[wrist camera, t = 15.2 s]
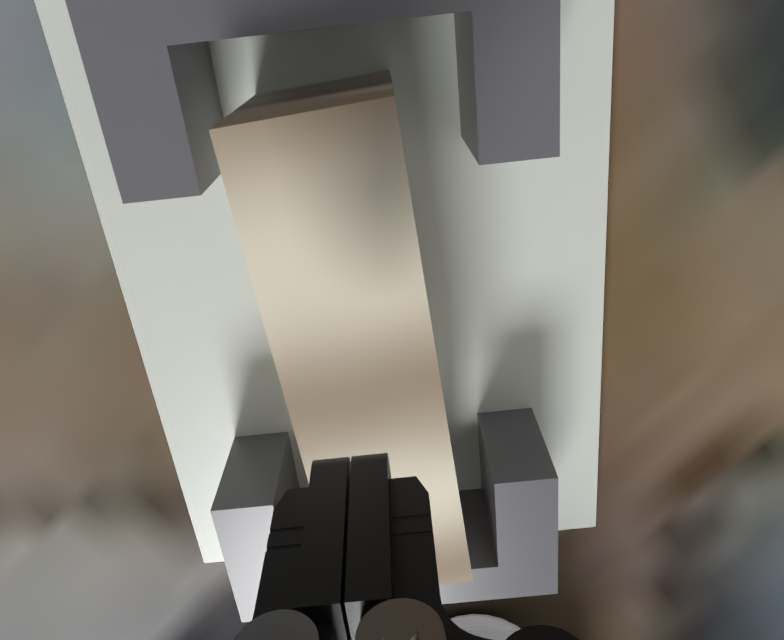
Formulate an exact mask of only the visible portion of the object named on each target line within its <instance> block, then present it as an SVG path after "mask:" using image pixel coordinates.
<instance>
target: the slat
mask: <svg viewBox="0 0 784 640" xmlns="http://www.w3.org/2000/svg"><path fill="white" fill-rule="evenodd" d="M209 133H210V137H211V140H212V144H213V147H214V151H215V154H216V158H217V161H218V165H219V168H220V172H221V176H222V179H223V183H224V186H225V190H226V193H227V197H228V200H229V204H230V207H231V211H232V214H233V218H234V221H235V225H236V229H237V232H238V236H239V239H240V243H241V246H242V250H243V253H244V257H245V260H246V264H247V267H248V271H249V274H250V278H251V281H252V285H253V289H254V292H255V296H256V299H257V303H258V306H259V310H260V313H261V317H262V320H263V324H264V327H265V331H266V334H267V338H268V342H269V345H270V349H271V352H272V356H273V359H274V363H275V366H276V370H277V373H278V377H279V380H280V384H281V387H282V391H283V395H284V398H285V402H286V405H287V409H288V412H289V416H290V419H291V423H292V426H293V430H294V433H295V437H296V440H297V444H298V447H299V451H300V455H301V458H302V462H303V465H304V469H305V472H306V476H307V479H308V483H309V480H310V472H311V465H312V461H313V460H322V459H332V458H342V457H349V458H350V461H351V457H352V456H360V455H370V454H380V453H388V457H389V464H390V471H391V479H392V478H402V477H412V476H416V477H417V478H418V479H419V481H420V482H421V483H422V485H423V486H424V487H425V489H426V490H427V491H428V493H429V500H430V509H431V518H432V527H433V535H434V544H435V553H436V562H437V571H438V580H439V585H446V584H453V583H460V582H467V581H473V577H472V571H471V564H470V558H469V552H468V546H467V540H466V534H465V527H464V521H463V515H462V509H461V503H460V497H459V490H458V484H457V478H456V472H455V466H454V460H453V453H452V447H451V441H450V435H449V429H448V423H447V416H446V410H445V404H444V398H443V392H442V386H441V379H440V373H439V367H438V361H437V355H436V348H435V342H434V336H433V330H432V324H431V318H430V311H429V305H428V299H427V293H426V287H425V281H424V274H423V268H422V262H421V256H420V250H419V244H418V237H417V231H416V225H415V219H414V213H413V207H412V200H411V194H410V188H409V182H408V176H407V170H406V163H405V157H404V151H403V145H402V139H401V133H400V126H399V120H398V114H397V108H396V102H395V96H394V90H393V85H392V79H391V74H390V70H386V71H381V72H375V73H370V74H365V75H359V76H354V77H348V78H343V79H337V80H332V81H327V82H321V83H316V84H310V85H305V86H299V87H294V88H289V89H283V90H278V91H272V92H267V93H261V94H256V95H254V96H253V97H252V98H250V99H249V100H248V101H246V102H245V103H244V104H242V105H241V106H240V107H238V108H237V109H236V110H234V111H233V112H232V113H230V114H229V115H228V116H226V117H225V118H224V119H222V120H221V121H220V122H218V123H217V124H216V125H214V126H213V127H212V128H210V129H209Z"/></svg>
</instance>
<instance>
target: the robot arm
mask: <svg viewBox="0 0 784 640" xmlns="http://www.w3.org/2000/svg"><path fill="white" fill-rule="evenodd" d="M266 548H267V551H266V552H265V557H264V562H263V568H262V573H261V578H260V583H259V588H258V594H257V599H256V604H255V609H254V614H253V618H252V621H250V622H249V623H247V624H246V625H245V626H244V627H243V628H242V629H241V631H240V632H239V633H238V634H237V636H236V638H235V639H234V640H492V639H487V638H482V637H479V636H475V635H473V634H470V633H468V632H466V631H464V630H463V629H461V628H460V627H458V626H457V625H456V624H455V623H454V622H453V621H452V620H451V619H450V618H449V617H448V615H447V614H446V612H445V611H444V608H443V606H442V602H441V598H440V589H439V580H438V571H437V562H436V553H435V544H434V535H433V527H432V518H431V509H430V500H429V493H428V491H427V490H426V489H425V487H424V486H423V485H422V483H421V482H420V481H419V479H418V478H417V477H416V476H412V477H402V478H392V479H391V471H390V464H389V457H388V453H380V454H370V455H360V456H352V457H351V461H350V458H349V457H342V458H332V459H322V460H313V461H312V465H311V472H310V480H309V487H304V488H294V489H288V490H287V491H286V492H285V494H284V495H283V497H282V498H281V499H280V501H279V502H278V503H277V505H276V506H275V508H274V510H273V515H272V521H271V526H270V534H269V536H268V541H267V547H266ZM506 640H579V639H577V638H576V637H574V636H573V635H571V634H570V633H568V632H566V631H564V630H562V629H559V628H556V627H552V626H545V625H535V626H528V627H525V628H522V629H520V630H518V631H516V632H514V633H513V634H511V635H510V636H509V637H508V638H507V639H506Z"/></svg>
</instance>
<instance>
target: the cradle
mask: <svg viewBox="0 0 784 640" xmlns="http://www.w3.org/2000/svg"><path fill="white" fill-rule="evenodd" d="M34 1H35V4H36V8H37V11H38V14H39V18H40V21H41V24H42V28H43V31H44V34H45V37H46V41H47V44H48V47H49V51H50V54H51V57H52V61H53V64H54V67H55V71H56V74H57V77H58V81H59V84H60V87H61V90H62V94H63V97H64V100H65V104H66V107H67V110H68V114H69V117H70V120H71V124H72V127H73V130H74V133H75V137H76V140H77V143H78V147H79V150H80V153H81V157H82V160H83V163H84V167H85V170H86V173H87V176H88V180H89V183H90V186H91V190H92V193H93V196H94V200H95V203H96V206H97V210H98V213H99V216H100V219H101V223H102V226H103V229H104V233H105V236H106V239H107V243H108V246H109V249H110V253H111V256H112V259H113V262H114V266H115V269H116V272H117V276H118V279H119V282H120V286H121V289H122V292H123V296H124V299H125V302H126V306H127V309H128V312H129V315H130V319H131V322H132V325H133V329H134V332H135V335H136V339H137V342H138V345H139V349H140V352H141V355H142V358H143V362H144V365H145V368H146V372H147V375H148V378H149V382H150V385H151V388H152V392H153V395H154V398H155V401H156V405H157V408H158V411H159V415H160V418H161V421H162V425H163V428H164V431H165V435H166V438H167V441H168V444H169V448H170V451H171V454H172V458H173V461H174V464H175V468H176V471H177V474H178V478H179V481H180V484H181V488H182V491H183V494H184V497H185V501H186V504H187V507H188V511H189V514H190V517H191V521H192V524H193V527H194V531H195V534H196V537H197V540H198V544H199V547H200V550H201V554H202V557H203V560H204V563H211V562H222V561H225V565H226V568H227V572H228V575H229V579H230V582H231V586H232V590H233V593H234V597H235V600H236V604H237V607H238V611H239V614H240V618H241V621H242V622H250V621H252V618H253V614H254V609H255V604H256V599H257V594H258V588H259V583H260V578H261V573H262V568H263V562H264V557H265V552H266V551H267V548H266V547H267V541H268V536H269V534H270V526H271V521H272V515H273V510H274V508H275V506H276V505H277V503H278V502H279V501H280V499H281V498H282V497H283V495H284V494H285V492H286V491H287V490H288V489H294V488H304V487H309V483H308V479H307V476H306V472H305V469H304V465H303V462H302V458H301V455H300V451H299V447H298V444H297V440H296V437H295V433H294V430H293V426H292V423H291V419H290V416H289V412H288V409H287V405H286V402H285V398H284V395H283V391H282V387H281V384H280V380H279V377H278V373H277V370H276V366H275V363H274V359H273V356H272V352H271V349H270V345H269V342H268V338H267V334H266V331H265V327H264V324H263V320H262V317H261V313H260V310H259V306H258V303H257V299H256V296H255V292H254V289H253V285H252V281H251V278H250V274H249V271H248V267H247V264H246V260H245V257H244V253H243V250H242V246H241V243H240V239H239V236H238V232H237V229H236V225H235V221H234V218H233V214H232V211H231V207H230V204H229V200H228V197H227V193H226V190H225V186H224V183H223V179H222V176H221V172H220V168H219V165H218V161H217V158H216V154H215V151H214V147H213V144H212V140H211V137H210V133H209V129H210V128H212V127H213V126H214V125H216V124H217V123H218V122H220V121H221V120H222V119H224V118H225V117H226V116H228V115H229V114H230V113H232V112H233V111H234V110H236V109H237V108H238V107H240V106H241V105H242V104H244V103H245V102H246V101H248V100H249V99H250V98H252V97H253V96H254V95H256V94H261V93H267V92H272V91H278V90H283V89H289V88H294V87H299V86H305V85H310V84H316V83H321V82H327V81H332V80H337V79H343V78H348V77H354V76H359V75H365V74H370V73H375V72H381V71H386V70H390V74H391V79H392V85H393V90H394V96H395V102H396V108H397V114H398V120H399V126H400V133H401V139H402V145H403V151H404V157H405V163H406V170H407V176H408V182H409V188H410V194H411V200H412V207H413V213H414V219H415V225H416V231H417V237H418V244H419V250H420V256H421V262H422V268H423V274H424V281H425V287H426V293H427V299H428V305H429V311H430V318H431V324H432V330H433V336H434V342H435V348H436V355H437V361H438V367H439V373H440V379H441V386H442V392H443V398H444V404H445V410H446V416H447V423H448V429H449V435H450V441H451V447H452V453H453V460H454V466H455V472H456V478H457V484H458V490H459V497H460V503H461V509H462V515H463V521H464V527H465V534H466V540H467V546H468V552H469V558H470V564H471V571H472V577H473V581H467V582H460V583H453V584H446V585H439V589H440V598H441V602H442V604H450V603H461V602H472V601H483V600H494V599H505V598H516V597H527V596H538V595H549V594H558V530H566V529H577V528H587V527H596V503H597V475H598V448H599V420H600V392H601V364H602V336H603V308H604V280H605V252H606V224H607V196H608V169H609V141H610V113H611V85H612V57H613V29H614V1H615V0H34Z"/></svg>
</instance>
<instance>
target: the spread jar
mask: <svg viewBox="0 0 784 640" xmlns="http://www.w3.org/2000/svg"><path fill="white" fill-rule="evenodd" d="M451 620H452V621H453V622H454V623H455V624H456V625H457V626H458V627H460V628H461V629H463V630H464V631H466V632H468V633H470V634H473V635H475V636H479V637H482V638H487V639H492V640H506V639H507V638H508V637H509V636H510V635H511V634H513V633H514V632H516V631H518V630H520V629H521V628H519V627H518V626H517V625H515V624H513V623H511V622H508V621H506V620H504V619H502V618H498V617H494V616H490V615H483V614H468V615H461V616H456V617H453V618H451Z"/></svg>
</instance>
